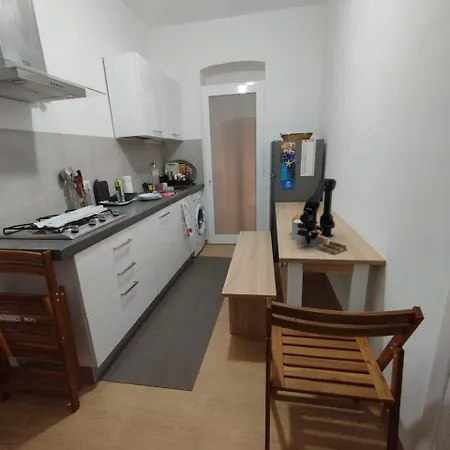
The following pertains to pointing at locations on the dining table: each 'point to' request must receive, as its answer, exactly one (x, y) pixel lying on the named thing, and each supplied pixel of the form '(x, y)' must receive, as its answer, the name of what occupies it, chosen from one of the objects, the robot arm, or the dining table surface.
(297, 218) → the french fries
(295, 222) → the supplement box
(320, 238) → the tall terracotta pillar
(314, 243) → the tall slate pillar
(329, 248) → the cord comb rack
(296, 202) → the dining table surface
